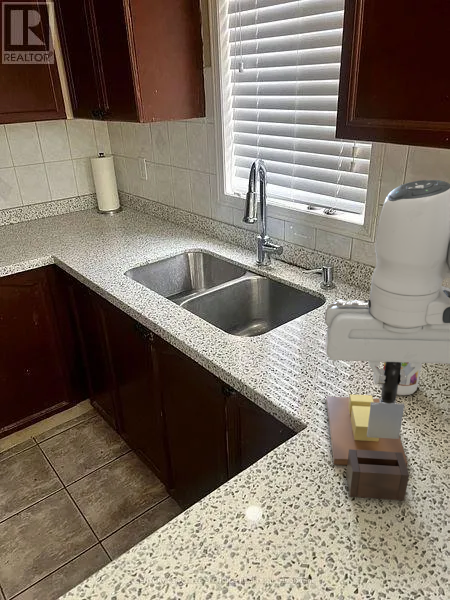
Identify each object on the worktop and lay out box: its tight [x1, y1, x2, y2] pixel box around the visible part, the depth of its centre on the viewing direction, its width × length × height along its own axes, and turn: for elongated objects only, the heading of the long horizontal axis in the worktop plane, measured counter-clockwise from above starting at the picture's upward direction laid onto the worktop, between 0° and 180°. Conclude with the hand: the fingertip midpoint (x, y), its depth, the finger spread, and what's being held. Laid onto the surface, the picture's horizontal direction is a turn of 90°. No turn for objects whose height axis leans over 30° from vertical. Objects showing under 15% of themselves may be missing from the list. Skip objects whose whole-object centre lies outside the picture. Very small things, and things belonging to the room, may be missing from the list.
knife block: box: [345, 449, 410, 502], centre depth 77 cm, size 9×5×6 cm, turn 83°
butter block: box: [351, 406, 379, 441], centre depth 88 cm, size 4×6×4 cm
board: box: [325, 395, 409, 467], centre depth 90 cm, size 13×18×2 cm
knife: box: [367, 362, 405, 439], centre depth 70 cm, size 5×2×16 cm, turn 83°
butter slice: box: [348, 393, 374, 414], centre depth 93 cm, size 4×2×4 cm, turn 83°
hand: (390, 382), depth 68 cm, fingers closed on knife, 2 cm apart
